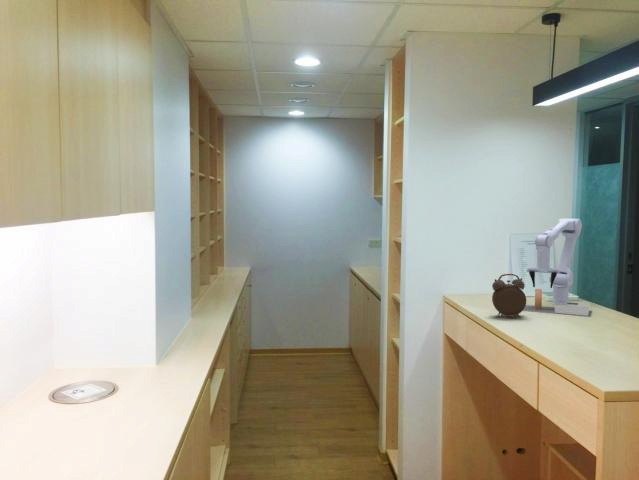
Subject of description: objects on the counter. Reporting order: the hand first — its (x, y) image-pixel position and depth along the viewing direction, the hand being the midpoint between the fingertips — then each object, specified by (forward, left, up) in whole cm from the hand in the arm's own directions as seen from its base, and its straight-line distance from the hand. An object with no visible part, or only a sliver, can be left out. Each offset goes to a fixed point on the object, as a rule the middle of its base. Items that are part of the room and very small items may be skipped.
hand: (542, 287), depth 257 cm
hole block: (+3, +14, -10) cm, 17 cm away
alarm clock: (+24, -11, -11) cm, 29 cm away
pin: (+3, -1, -10) cm, 11 cm away
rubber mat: (+3, +7, -11) cm, 13 cm away
